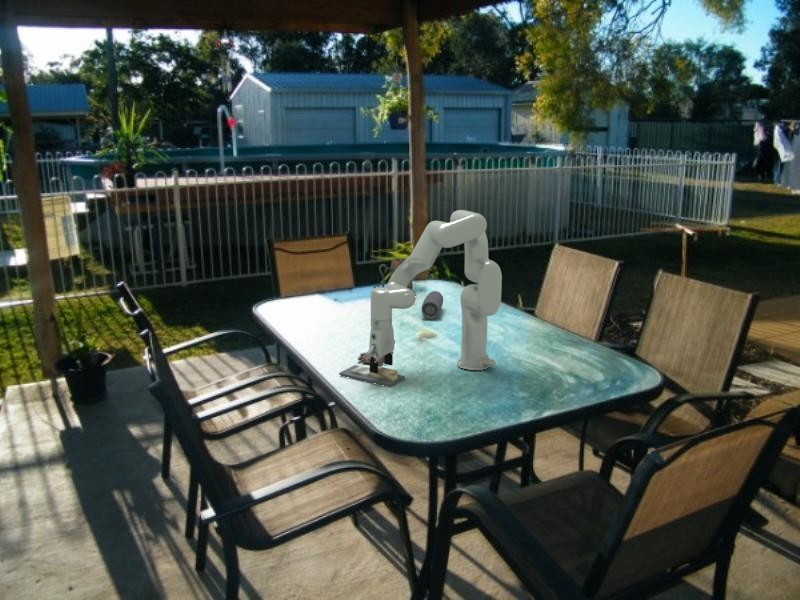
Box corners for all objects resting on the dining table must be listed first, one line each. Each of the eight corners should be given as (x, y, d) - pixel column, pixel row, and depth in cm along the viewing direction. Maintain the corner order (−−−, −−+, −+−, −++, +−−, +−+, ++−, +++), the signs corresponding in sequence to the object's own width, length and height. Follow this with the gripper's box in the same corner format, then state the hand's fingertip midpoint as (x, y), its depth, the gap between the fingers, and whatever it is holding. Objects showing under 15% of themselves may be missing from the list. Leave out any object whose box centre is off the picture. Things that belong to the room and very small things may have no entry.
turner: (399, 377, 240) (399, 369, 240) (390, 382, 235) (390, 374, 235) (360, 368, 249) (359, 360, 248) (350, 373, 244) (350, 365, 243)
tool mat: (405, 379, 242) (405, 375, 241) (390, 387, 233) (390, 384, 233) (354, 368, 253) (354, 365, 252) (339, 375, 244) (339, 372, 244)
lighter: (387, 359, 262) (364, 356, 265) (387, 351, 261) (363, 348, 264) (380, 367, 255) (356, 364, 258) (380, 358, 254) (356, 355, 257)
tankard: (413, 291, 375) (413, 256, 370) (419, 298, 359) (419, 262, 354) (371, 293, 371) (371, 257, 366) (376, 300, 355) (376, 263, 350)
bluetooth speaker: (439, 321, 316) (440, 301, 313) (420, 320, 317) (420, 300, 315) (444, 309, 338) (444, 290, 335) (425, 308, 339) (426, 289, 336)
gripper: (377, 330, 227) (377, 377, 231) (402, 318, 241) (402, 363, 245) (358, 327, 230) (359, 373, 235) (385, 315, 245) (385, 360, 249)
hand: (381, 368), depth 240 cm, fingers open, 9 cm apart
